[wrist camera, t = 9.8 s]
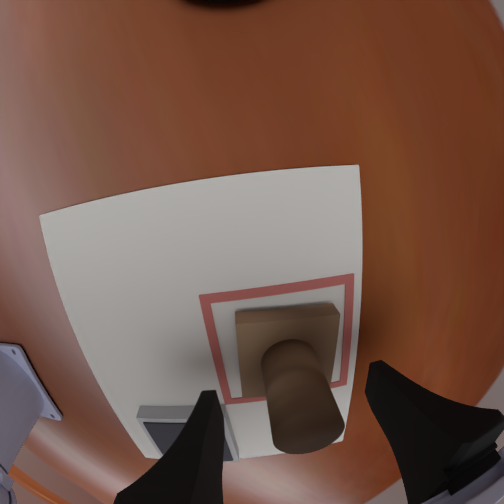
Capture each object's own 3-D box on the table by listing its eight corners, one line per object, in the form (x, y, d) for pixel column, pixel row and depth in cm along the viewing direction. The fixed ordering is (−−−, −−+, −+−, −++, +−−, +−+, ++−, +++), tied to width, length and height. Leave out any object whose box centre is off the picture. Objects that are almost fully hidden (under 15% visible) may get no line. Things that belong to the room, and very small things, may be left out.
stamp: (241, 379, 15) (246, 470, 9) (235, 307, 14) (237, 401, 8) (322, 371, 16) (357, 453, 9) (330, 299, 14) (384, 379, 8)
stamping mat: (146, 455, 18) (143, 469, 17) (42, 214, 12) (24, 220, 11) (341, 438, 19) (347, 452, 17) (356, 165, 13) (371, 165, 11)
